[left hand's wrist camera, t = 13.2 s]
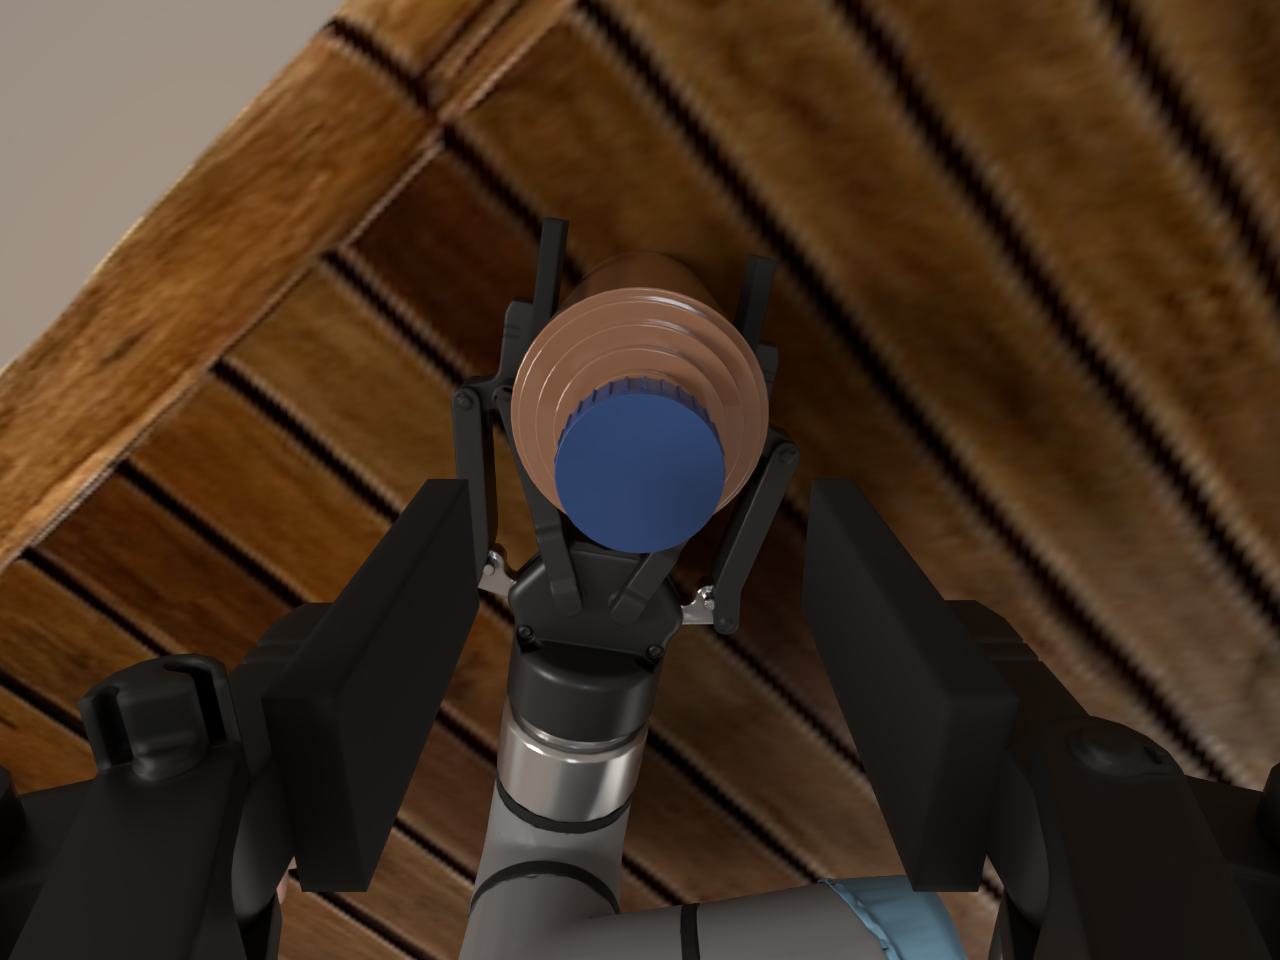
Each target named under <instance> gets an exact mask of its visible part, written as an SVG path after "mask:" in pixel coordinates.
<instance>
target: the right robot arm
mask: <svg viewBox="0 0 1280 960" xmlns="http://www.w3.org/2000/svg"><path fill="white" fill-rule="evenodd" d="M568 225H569V221H568V220H563V219H557V218H552V217H551V218H546V219H543V227H542V236H541V244H540V252H539V260H538V268H537V277H536V285H535V293H534V299H530V298H524V297H518V296H517V297H516V298H514V299H513V300H512V301H511V303H510V305H509V306H508V308H507V310H506V313H505V322H504V331H503V340H502V349H501V358H500V367H499V371H498V372H497V373H496V374H492V375H487V376H482V377H480V376H472V377H470V378H468V379H467V380H466V381H465V382H464V383H463V384H462V385H461V386H460V387H459V388H458V389H457V390H456V391H455V392H454V394H453V395H452V398H451V408H452V420H453V433H454V446H455V458H456V471H457V479H468V481H469V492H470V504H471V515H472V527H473V539H474V550H475V562H476V573H477V585H478V588H481V589H484V590H487V591H490V592H493V593H496V594H499V595H502V596H505V597H508V602H509V605H510V607H511V609H512V611H513V614H514V618H515V628H514V636H513V643H512V651H511V658H510V666H509V673H508V681H507V692H508V693H507V697H506V700H505V703H504V709H503V717H502V725H501V733H500V741H499V749H498V757H497V767H496V781H495V787H494V793H493V798H492V804H491V810H490V816H489V823H488V829H487V834H486V839H485V844H484V849H483V853H482V857H481V862H480V866H479V870H478V874H477V878H476V882H475V886H474V890H473V894H472V899H471V903H470V908H469V916H468V926H467V930H466V934H465V937H464V941H463V945H462V948H461V952H460V956H459V959H458V960H968V958H967V955H966V953H965V950H964V947H963V945H962V942H961V940H960V937H959V934H958V932H957V930H956V927H955V925H954V923H953V921H952V919H951V916H950V914H949V913H948V911H947V909H946V907H945V905H944V904H943V902H942V901H941V899H940V898H939V896H938V895H937V893H936V892H913V889H912V886H911V884H910V881H909V879H908V876H906V875H895V876H879V877H863V878H847V879H830V878H825V879H819V880H818V882H817V884H814V885H808V886H802V887H796V888H790V889H784V890H779V891H773V892H767V893H761V894H755V895H749V896H744V897H738V898H732V899H726V900H720V901H715V902H709V903H703V904H700V903H693V904H687V905H678V906H671V907H664V908H657V909H650V910H643V911H636V912H629V913H622V914H620V883H621V860H622V851H623V844H624V838H625V833H626V827H627V821H628V816H629V810H630V805H631V800H632V797H633V793H634V789H635V785H636V782H637V779H638V775H639V770H640V765H641V761H642V756H643V752H644V747H645V742H646V738H647V733H648V728H649V721H650V720H649V716H650V714H651V712H652V709H653V705H654V700H655V696H656V691H657V687H658V682H659V677H660V673H661V668H662V664H663V659H664V655H665V650H666V647H667V644H668V642H669V640H670V639H671V638H672V636H673V635H674V634H675V633H676V632H677V631H678V630H679V629H680V627H681V625H682V624H714V627H715V629H716V631H717V632H719V633H720V634H724V635H728V634H732V633H734V632H735V631H736V630H737V629H738V626H739V616H740V592H741V590H742V588H743V585H744V583H745V581H746V579H747V577H748V574H749V572H750V570H751V568H752V565H753V563H754V561H755V559H756V556H757V554H758V552H759V550H760V547H761V545H762V543H763V541H764V538H765V536H766V534H767V532H768V530H769V527H770V525H771V523H772V521H773V518H774V516H775V514H776V512H777V509H778V507H779V505H780V503H781V500H782V498H783V496H784V494H785V491H786V489H787V487H788V485H789V482H790V480H791V478H792V476H793V474H794V471H795V469H796V467H797V465H798V462H799V460H800V451H799V449H798V448H797V446H796V444H795V443H794V441H793V440H792V438H791V437H790V435H789V434H788V432H787V431H786V430H785V429H783V428H779V427H777V426H775V425H773V424H771V423H770V422H768V430H767V436H766V440H765V444H764V447H763V451H762V454H761V456H760V458H759V461H758V463H757V465H756V467H755V469H754V471H753V472H752V474H751V476H750V478H749V479H748V481H747V482H746V483H745V485H744V486H743V489H742V491H741V493H740V496H739V498H738V500H737V503H736V505H735V507H734V510H733V512H732V515H731V517H730V519H729V522H728V524H727V526H726V529H725V531H724V533H723V536H722V538H721V540H720V543H719V545H718V548H717V550H716V552H715V555H714V558H713V561H712V565H711V569H710V577H708V576H704V577H702V578H701V579H700V580H699V581H698V582H697V583H696V585H695V588H694V591H693V592H692V593H691V594H690V595H688V596H686V597H680V595H679V593H678V591H677V589H676V587H675V585H674V584H673V582H672V580H671V578H670V576H669V574H668V573H669V572H670V570H671V569H672V568H673V566H674V565H675V563H676V562H677V560H678V558H679V555H680V552H681V550H682V549H683V547H684V546H685V544H686V543H687V542H688V540H689V539H690V538H691V537H690V538H689V539H687V540H686V541H684V542H682V543H681V544H678V545H676V546H674V547H671V548H668V549H665V550H662V551H657V552H651V553H628V552H623V551H618V550H615V549H611V548H608V547H606V546H604V545H601V544H599V543H597V542H596V541H594V540H592V539H591V538H589V537H588V536H587V535H585V534H584V533H583V532H581V531H580V530H579V529H578V528H577V527H575V525H574V524H573V522H572V521H571V520H570V518H569V517H568V516H567V514H565V513H564V512H562V511H561V510H560V509H559V508H557V507H556V506H555V505H553V504H552V503H551V502H550V501H549V500H548V499H547V498H546V497H545V496H544V495H543V494H542V493H541V492H540V490H539V489H538V488H537V486H536V485H535V484H534V482H533V481H532V480H531V478H530V476H529V475H528V473H527V471H526V469H525V468H524V466H523V464H522V461H521V459H520V456H519V454H518V452H517V448H516V445H515V441H514V437H513V432H512V424H511V399H512V392H513V386H514V382H515V379H516V375H517V372H518V369H519V367H520V365H521V362H522V360H523V358H524V356H525V354H526V352H527V351H528V349H529V347H530V346H531V344H532V343H533V341H534V339H535V338H536V337H537V336H538V334H539V333H540V332H541V330H542V329H543V328H544V326H545V325H546V324H547V322H548V321H549V320H550V319H551V317H552V316H553V315H554V313H555V312H556V311H557V308H558V300H559V293H560V285H561V277H562V270H563V262H564V255H565V247H566V240H567V232H568ZM776 264H777V262H776V261H774V260H772V259H770V258H767V257H764V256H758V255H753V254H749V256H748V261H747V265H746V270H745V274H744V279H743V284H742V288H741V293H740V297H739V302H738V307H737V311H736V316H735V320H734V325H735V327H736V328H737V329H738V331H739V332H740V333H741V335H742V336H743V337H744V339H745V340H746V341H747V343H748V344H749V346H750V348H751V349H752V351H753V353H754V354H755V356H756V358H757V361H758V363H759V365H760V368H761V370H762V373H763V376H764V380H765V383H766V387H767V394H768V401H770V397H771V393H772V389H773V384H774V380H775V376H776V372H777V368H778V364H779V354H778V347H777V346H776V345H775V344H774V343H773V342H772V341H766V340H760V339H759V338H760V333H761V329H762V325H763V320H764V316H765V312H766V307H767V303H768V299H769V294H770V290H771V286H772V281H773V277H774V273H775V268H776ZM495 408H499V411H500V414H501V417H502V420H503V424H504V427H505V430H506V433H507V437H508V440H509V443H510V446H511V450H512V453H513V456H514V459H515V463H516V466H517V469H518V472H519V476H520V479H521V482H522V485H523V489H524V492H525V495H526V499H527V502H528V505H529V508H530V512H531V515H532V518H533V521H534V525H535V529H536V540H537V544H538V547H539V550H540V551H539V552H538V553H537V554H536V555H534V556H533V557H532V558H531V559H530V560H529V561H528V562H527V563H526V564H525V565H524V566H523V567H521V568H520V569H519V570H518V571H515V570H513V569H511V568H510V567H509V565H508V563H507V552H506V550H505V549H504V548H503V546H502V545H501V544H499V543H495V540H496V536H497V530H498V511H497V494H496V477H495V461H494V444H493V427H492V410H491V409H495Z"/></svg>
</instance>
